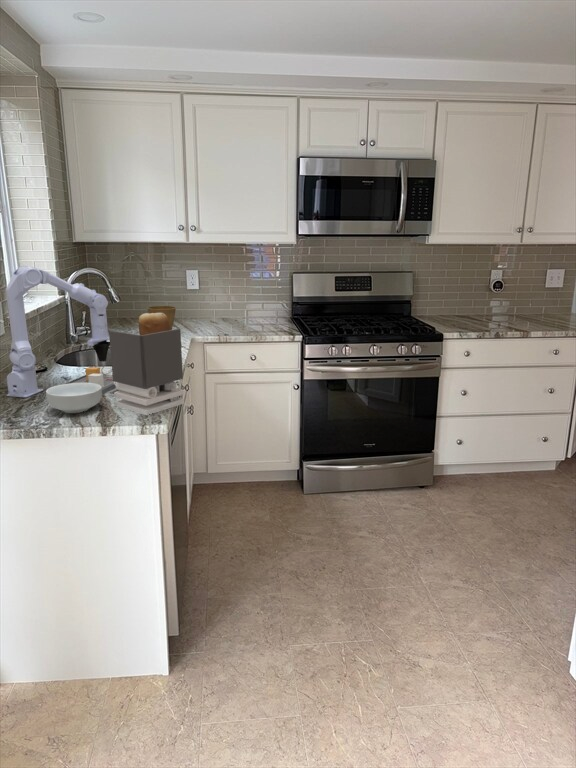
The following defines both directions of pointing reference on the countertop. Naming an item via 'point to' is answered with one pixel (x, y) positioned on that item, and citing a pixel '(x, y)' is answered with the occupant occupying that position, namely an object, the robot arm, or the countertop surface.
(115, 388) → the cords
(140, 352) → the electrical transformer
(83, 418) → the countertop surface
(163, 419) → the countertop surface
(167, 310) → the plant pot
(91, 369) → the orange block
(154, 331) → the bread loaf
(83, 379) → the breaker panel
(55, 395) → the cereal bowl
